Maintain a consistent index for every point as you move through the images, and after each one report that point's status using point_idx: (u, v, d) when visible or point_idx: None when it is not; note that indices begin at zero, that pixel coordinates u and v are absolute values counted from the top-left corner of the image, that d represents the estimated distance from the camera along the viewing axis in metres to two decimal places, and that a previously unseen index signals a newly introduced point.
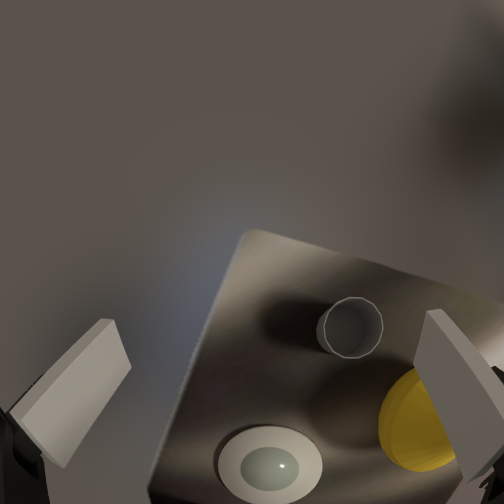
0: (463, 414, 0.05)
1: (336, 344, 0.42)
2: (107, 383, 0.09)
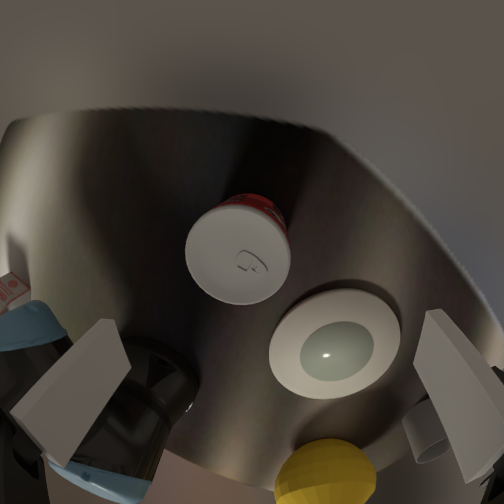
0: (463, 414, 0.05)
1: None
2: (107, 383, 0.09)
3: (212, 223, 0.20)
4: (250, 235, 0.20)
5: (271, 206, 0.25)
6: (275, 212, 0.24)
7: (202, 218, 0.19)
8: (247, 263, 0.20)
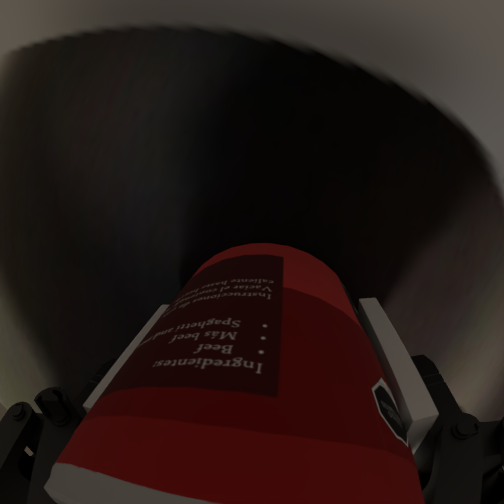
0: None
1: None
2: None
3: None
4: None
5: (357, 322, 0.07)
6: (378, 364, 0.06)
7: (66, 499, 0.02)
8: None
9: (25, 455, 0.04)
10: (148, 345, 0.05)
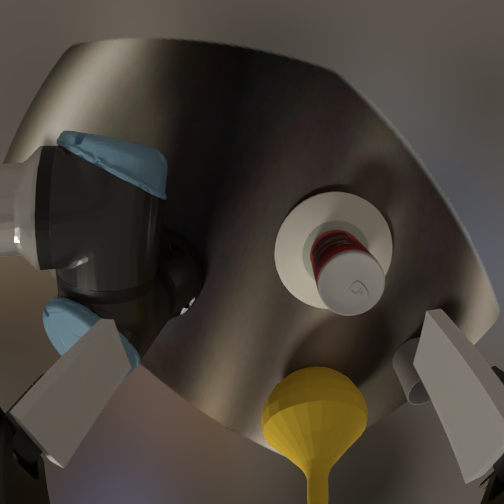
0: (463, 414, 0.05)
1: None
2: (107, 383, 0.09)
3: (342, 261, 0.28)
4: (364, 271, 0.28)
5: None
6: None
7: (338, 257, 0.28)
8: (357, 288, 0.29)
9: None
10: (331, 245, 0.31)
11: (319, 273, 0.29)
